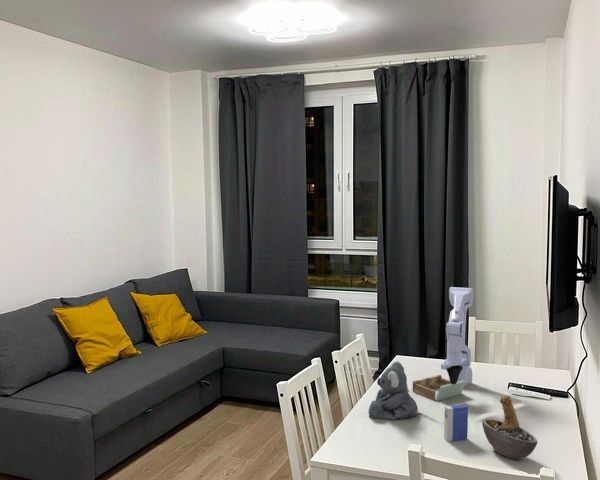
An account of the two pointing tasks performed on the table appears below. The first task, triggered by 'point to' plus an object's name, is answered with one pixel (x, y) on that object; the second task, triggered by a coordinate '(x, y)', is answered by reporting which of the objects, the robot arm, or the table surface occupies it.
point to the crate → (429, 386)
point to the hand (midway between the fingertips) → (453, 383)
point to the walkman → (456, 422)
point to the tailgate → (450, 390)
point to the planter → (509, 434)
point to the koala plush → (393, 396)
